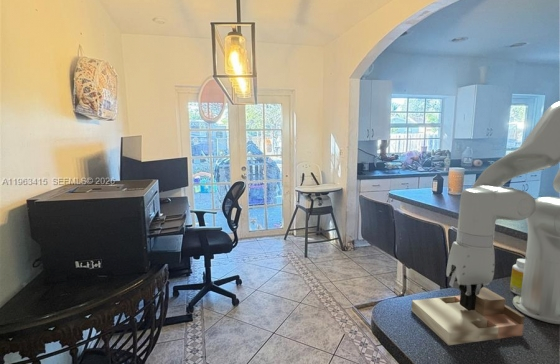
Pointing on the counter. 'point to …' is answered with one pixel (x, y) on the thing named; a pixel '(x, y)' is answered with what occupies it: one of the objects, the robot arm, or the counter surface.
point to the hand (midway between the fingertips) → (467, 307)
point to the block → (489, 303)
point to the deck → (466, 321)
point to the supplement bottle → (517, 276)
